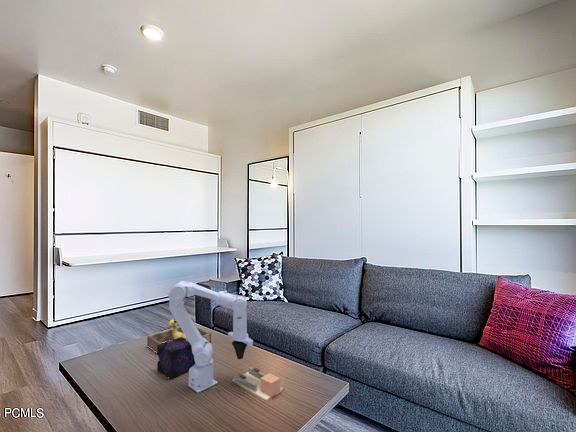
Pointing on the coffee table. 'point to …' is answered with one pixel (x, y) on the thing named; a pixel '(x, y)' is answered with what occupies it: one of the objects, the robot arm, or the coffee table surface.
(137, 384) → the coffee table surface
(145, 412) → the coffee table surface
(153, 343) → the display tray
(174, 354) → the energy cube
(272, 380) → the block
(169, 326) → the stuffed giraffe
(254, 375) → the chute
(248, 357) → the coffee table surface
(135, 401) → the coffee table surface
